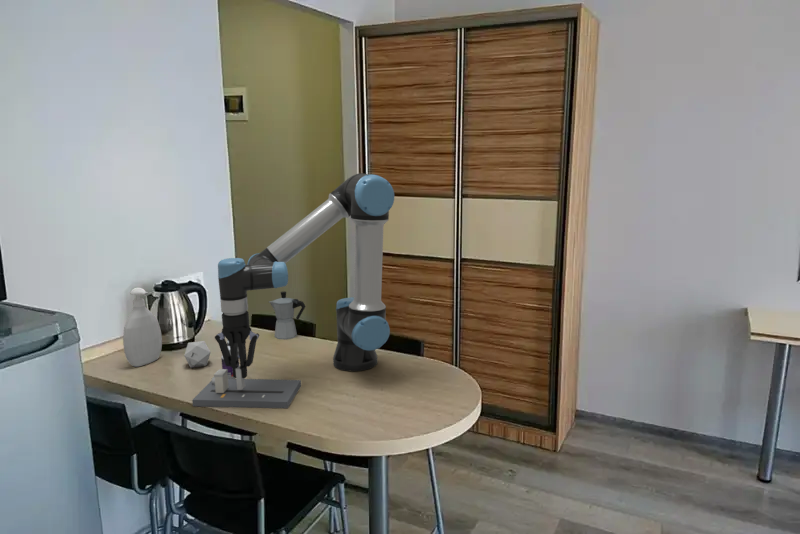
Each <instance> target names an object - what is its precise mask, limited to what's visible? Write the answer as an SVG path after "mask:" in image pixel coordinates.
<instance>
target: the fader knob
mask: <svg viewBox="0 0 800 534" xmlns="http://www.w3.org/2000/svg"><path fill="white" fill-rule="evenodd" d="M227 372H228V369H222V368H219V369H218V370H217V371H215V373H213V377H214V378H215V390H216V393H224V392H225V391H226V390H227V389H228V388H229V387H228V375H227Z"/></svg>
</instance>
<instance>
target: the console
mask: <svg viewBox="0 0 800 534" xmlns="http://www.w3.org/2000/svg"><path fill="white" fill-rule="evenodd" d="M228 387H229V388H228V389H227V390H226V391H225V392H224V393H216V390H215V378H214V376H213V377H212V378H211V380H210V381H209V383H207V385H205V386H204V387H203V389H202V390H200V391H199V392H198V393H197V395H195V396H194V398H192V400H191V401H192V407H205V408H206V407H207V408H208V407H210V408H211V407H213V408H247V409H248V408H249V409H250V408H251V409H252V408H256V409H288V408H289V407H290V405H291V404H292V402H293V400H294V398H295V396H296V395H297V393H298V392H299V390H300V389H301V387H302V380H301V379H276V378H275V379H270V378H269V379H267V378H266V379H263V378H245V387H244V388H243V389H242V390H237V381H236V378H232V379H228Z"/></svg>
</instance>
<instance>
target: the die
mask: <svg viewBox="0 0 800 534" xmlns="http://www.w3.org/2000/svg"><path fill="white" fill-rule="evenodd" d="M210 355H211V350H210V348H209V347H208V345H207V343H206V341H205V340H200V341H193V342H192V341H191V342H188V343H187V345H186V348H185V352H184V355H183V356H184V357H185V360H186V362H187V364H188V365H189V367H190V369H191V368H199V367H206V366H207V365H208V362H209V359H210Z"/></svg>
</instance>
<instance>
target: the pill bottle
mask: <svg viewBox="0 0 800 534" xmlns="http://www.w3.org/2000/svg"><path fill="white" fill-rule="evenodd" d="M228 349H229V352H230V346H228ZM230 355H231V352H230ZM220 358H221V359H220V360H221V369H228V372H227V375H228V379H235V378H234V377H233V369H232V367H230V366H226V364H225V361H224V358H223V355H222V354H221V357H220ZM238 363H239V365H238V366H240V358H239V356H238Z"/></svg>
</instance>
